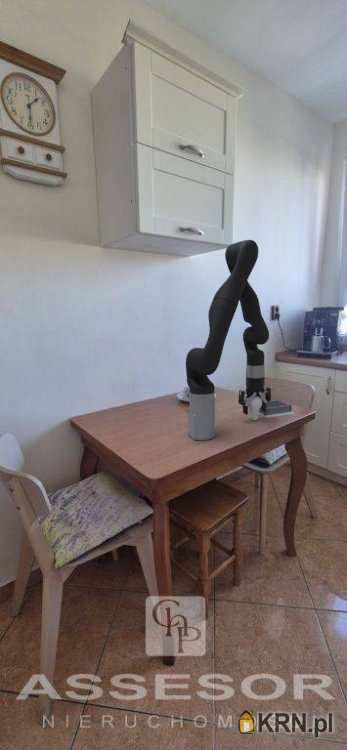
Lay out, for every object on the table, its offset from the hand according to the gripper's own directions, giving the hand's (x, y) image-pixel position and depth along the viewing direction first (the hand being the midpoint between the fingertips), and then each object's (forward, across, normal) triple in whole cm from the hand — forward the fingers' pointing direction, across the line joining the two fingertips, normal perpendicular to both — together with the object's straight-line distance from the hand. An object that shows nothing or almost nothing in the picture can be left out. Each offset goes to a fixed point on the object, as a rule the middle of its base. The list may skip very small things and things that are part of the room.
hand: (254, 412), depth 134 cm
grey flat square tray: (+4, +14, +7) cm, 16 cm away
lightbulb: (+4, 0, 0) cm, 4 cm away
